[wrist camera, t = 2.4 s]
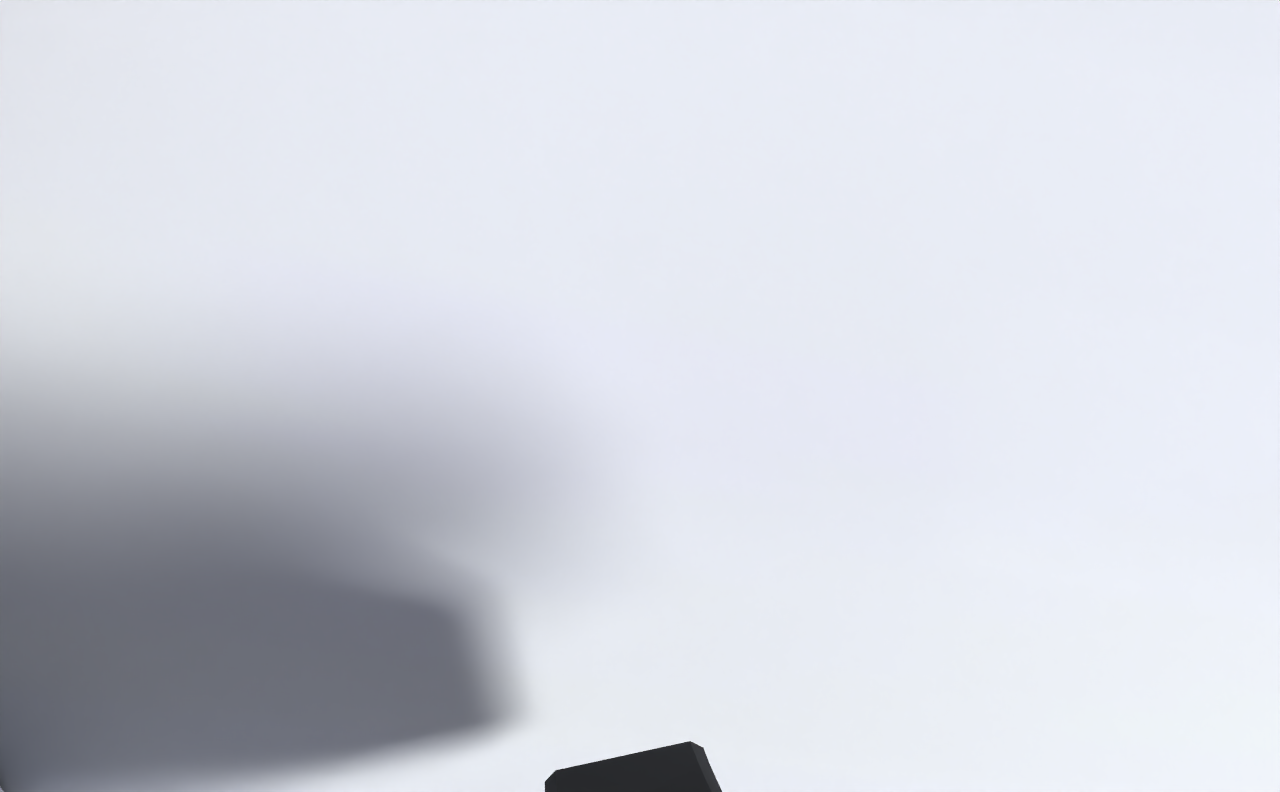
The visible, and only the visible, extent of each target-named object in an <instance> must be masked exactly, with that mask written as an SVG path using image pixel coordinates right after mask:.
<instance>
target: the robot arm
mask: <svg viewBox="0 0 1280 792" xmlns="http://www.w3.org/2000/svg"><path fill="white" fill-rule="evenodd" d="M545 792H722V791H721V788H720V786H719V784H718V782H717V780H716V778H715V775H714V773H713V771H712V769H711V766H710V764H709V762H708V759H707V756H706V754H705V751H704V748H703V747H701V746H699V745H697V744H695V743H693V742H691V741H689V742H684V743H680V744H675V745H671V746H666V747H661V748H657V749H652V750H648V751H643V752H638V753H634V754H629V755H625V756H620V757H615V758H611V759H606V760H602V761H597V762H592V763H588V764H583V765H579V766H574V767H569V768H565V769H560V770H556V771H555V772H554V773H553V774H552V775H551V776H550V777H549V778H548V779H547V780H546V781H545Z"/></svg>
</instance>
